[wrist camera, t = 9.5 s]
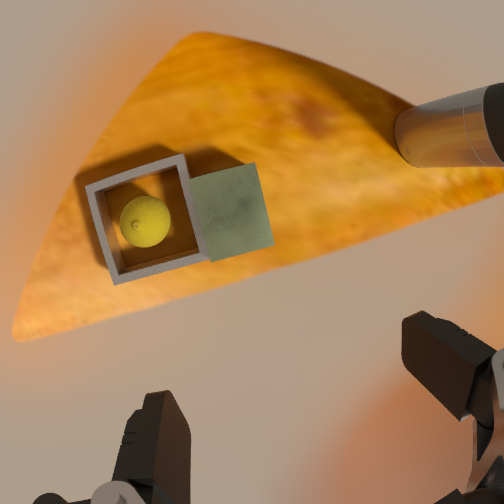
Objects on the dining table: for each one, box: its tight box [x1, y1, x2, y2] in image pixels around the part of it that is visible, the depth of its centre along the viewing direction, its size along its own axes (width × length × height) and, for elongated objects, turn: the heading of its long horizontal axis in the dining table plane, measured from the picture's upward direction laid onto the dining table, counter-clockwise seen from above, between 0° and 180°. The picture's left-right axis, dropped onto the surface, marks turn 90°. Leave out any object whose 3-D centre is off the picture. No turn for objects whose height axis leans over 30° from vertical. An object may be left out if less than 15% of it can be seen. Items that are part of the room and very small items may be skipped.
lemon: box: [119, 196, 171, 247], centre depth 30 cm, size 6×6×8 cm
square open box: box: [85, 153, 275, 285], centre depth 32 cm, size 19×12×5 cm, turn 104°
